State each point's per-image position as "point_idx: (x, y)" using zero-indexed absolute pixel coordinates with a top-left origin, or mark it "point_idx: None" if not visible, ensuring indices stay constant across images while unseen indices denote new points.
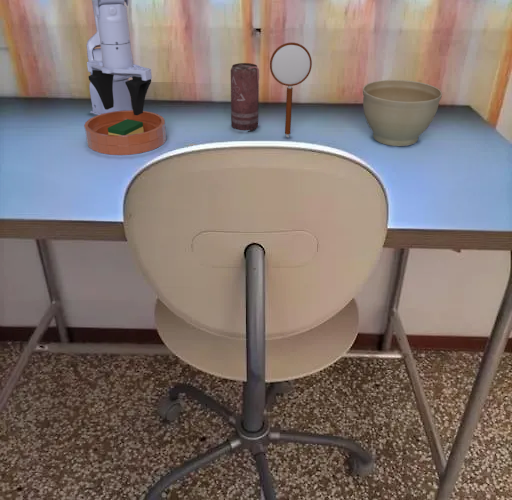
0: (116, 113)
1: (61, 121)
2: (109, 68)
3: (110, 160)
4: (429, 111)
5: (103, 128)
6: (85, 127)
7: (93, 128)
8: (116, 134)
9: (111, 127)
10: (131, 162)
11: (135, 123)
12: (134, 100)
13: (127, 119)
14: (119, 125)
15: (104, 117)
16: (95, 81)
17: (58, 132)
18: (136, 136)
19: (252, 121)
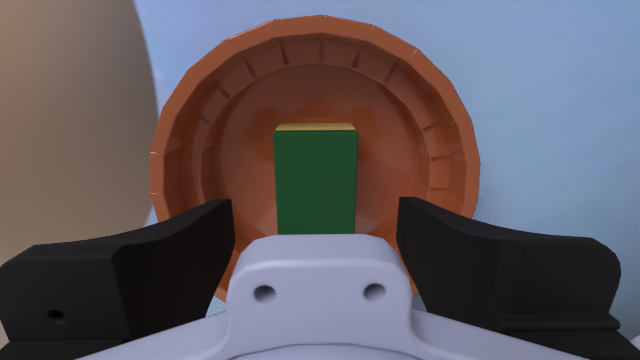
0: None
1: (637, 218)
2: (304, 349)
3: (260, 12)
4: None
5: (425, 185)
6: (430, 64)
7: (447, 151)
8: (313, 128)
9: (344, 142)
10: (184, 36)
11: (291, 224)
12: (173, 221)
13: None
14: (331, 177)
15: None
16: (508, 237)
17: (594, 135)
18: (169, 98)
19: None
